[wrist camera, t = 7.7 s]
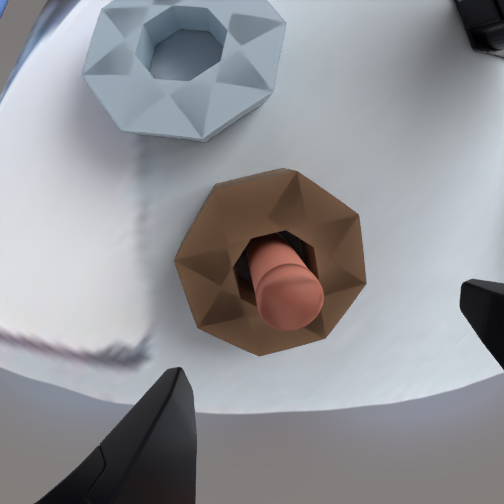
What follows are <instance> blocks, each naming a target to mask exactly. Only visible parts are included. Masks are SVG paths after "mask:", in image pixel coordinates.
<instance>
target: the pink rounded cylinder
mask: <svg viewBox="0 0 504 504" xmlns="http://www.w3.org/2000/svg"><path fill="white" fill-rule="evenodd" d="M246 258H247V262H248V266H249V270H250V274H251V278H252V282H253V286H254V290H255V296H256V303H257V307H258V311H259V314H260V316H261V318H262V319H263V321H264V322H265V323H267V324H268V325H269V326H271V327H273V328H275V329H278V330H284V331H290V330H296V329H299V328H302V327H304V326H306V325H308V324H309V323H310V322H312V321H313V320H314V319H315V318H316V316H317V315H318V314H319V312H320V310H321V308H322V305H323V301H324V293H323V289H322V286H321V284H320V282H319V281H318V280H317V278H316V277H315V276H314V274H313V273H312V272H311V271H310V270H309V269H308V268H307V267H306V265H305V264H304V263H303V261H302V260H301V259H300V257H299V256H298V255H297V253H296V252H295V251H294V249H293V248H292V247H291V245H290V244H289V243H288V241H287V240H286V239H285V238H284V237H283V236H282V235H281V234H279V233H277V232H276V233H272V234H267V235H263V236H259V237H255V238H252V239H251V240H250V241H249V243H248V245H247V248H246Z"/></svg>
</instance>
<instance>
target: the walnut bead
mask: <svg viewBox="0 0 504 504" xmlns="http://www.w3.org/2000/svg"><path fill="white" fill-rule="evenodd" d="M284 230H287V231H288V232H290V233H292V234H293V235H295V236H296V237H298V238H300V243H301V248H302V254H303V259H302V261H303V263H304V264H305V265H306V267H307V268H308V269H309V270H310V271H311V272H312V273H313V274H314V276H315V277H316V278H317V280H318V281H319V282H320V284H321V286H322V289H323V293H324V301H323V305H322V308H321V310H320V312H319V314H318V315H317V316H316V318H315V319H314V320H313V321H312V322H310V323H309V324H308V325H306V326H304V327H302V328H299V329H296V330H290V331H284V330H278V329H275V328H273V327H271V326H269V325H268V324H267V323H265V322H264V321H263V319H262V318H261V316H260V314H259V311H258V307H257V303H256V296H255V290H254V286H253V283H252V282H250V281H248V280H246V279H244V278H242V277H240V276H239V275H237V272H236V268H235V263H236V261H237V260H238V258H239V257H240V255H241V254H242V252H243V250H244V249H245V247H246V246H247V244H248V242H249V241H250V239H251V238H255V237H259V236H263V235H267V234H272V233H276V232H280V231H284ZM174 262H175V265H176V268H177V271H178V274H179V277H180V280H181V283H182V286H183V289H184V292H185V295H186V297H187V300H188V303H189V306H190V309H191V312H192V314H193V317H194V320H195V323H196V325H197V328H199V329H201V330H203V331H205V332H207V333H209V334H211V335H213V336H215V337H217V338H220V339H222V340H224V341H226V342H228V343H230V344H233V345H235V346H237V347H239V348H241V349H244V350H246V351H248V352H250V353H253V354H255V355H257V356H263V355H267V354H271V353H275V352H279V351H282V350H286V349H290V348H294V347H297V346H301V345H305V344H308V343H312V342H315V341H319V340H322V339H325V338H326V337H327V336H328V334H329V333H330V332H331V331H332V329H333V328H334V327H335V325H336V324H337V323H338V322H339V320H340V319H341V318H342V316H343V315H344V314H345V312H346V311H347V310H348V308H349V307H350V306H351V304H352V303H353V301H354V300H355V299H356V297H357V296H358V295H359V293H360V292H361V290H362V289H363V288H364V286H365V285H366V274H365V263H364V252H363V243H362V234H361V226H360V218H359V214H357V213H356V212H355V211H353V210H352V209H351V208H349V207H348V206H346V205H345V204H344V203H342V202H341V201H340V200H338V199H337V198H335V197H334V196H333V195H331V194H330V193H328V192H327V191H325V190H324V189H323V188H321V187H320V186H318V185H317V184H315V183H314V182H312V181H311V180H310V179H308V178H307V177H305V176H304V175H302V174H301V173H299V172H298V171H294V170H290V169H285V168H282V169H277V170H273V171H268V172H264V173H259V174H255V175H251V176H246V177H242V178H238V179H234V180H230V181H226V182H222V183H218V184H216V185H215V186H214V188H213V190H212V191H211V193H210V195H209V196H208V198H207V200H206V201H205V203H204V205H203V206H202V208H201V210H200V212H199V213H198V215H197V217H196V218H195V220H194V222H193V224H192V225H191V227H190V229H189V231H188V232H187V234H186V236H185V238H184V239H183V241H182V243H181V246H180V248H179V250H178V253H177V255H176V257H175V260H174Z"/></svg>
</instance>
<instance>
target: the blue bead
mask: <svg viewBox="0 0 504 504" xmlns="http://www.w3.org/2000/svg"><path fill="white" fill-rule="evenodd" d="M285 27H286V22H285V21H284V19H283V18H282V17H281V16H280V15H279V14H278V12H277V11H276V10H275V9H274V8H273V7H272V6H271V5H270V3H269V2H268V1H267V0H113V1H112V2H110V3H109V4H108V5H106V6H105V7H104V8H102V9H101V12H100V15H99V18H98V21H97V24H96V27H95V30H94V33H93V36H92V39H91V43H90V46H89V49H88V53H87V57H86V60H85V64H84V68H83V72H82V77H83V78H84V79H85V81H86V82H87V84H88V85H89V87H90V88H91V89H92V91H93V92H94V94H95V95H96V97H97V98H98V99H99V101H100V102H101V104H102V105H103V106H104V108H105V109H106V111H107V112H108V113H109V115H110V116H111V118H112V119H113V120H114V122H115V123H116V125H117V126H118V127H119V129H120V130H121V131H124V132H129V133H133V134H137V135H147V136H157V137H167V138H176V139H185V140H193V141H200V142H207V141H208V140H210V139H211V138H213V137H214V136H216V135H217V134H218V133H220V132H221V131H223V130H224V129H226V128H227V127H229V126H230V125H231V124H233V123H234V122H236V121H237V120H239V119H240V118H242V117H243V116H245V115H246V114H248V113H250V112H251V111H253V110H254V109H256V108H257V107H259V106H260V105H262V104H264V102H265V101H266V100H267V99H268V98H269V96H270V95H271V94H272V93H273V90H274V85H275V80H276V74H277V69H278V64H279V58H280V53H281V48H282V43H283V37H284V32H285ZM180 29H187V30H198V31H208V32H210V33H211V34H212V35H213V36H214V38H215V39H216V40H217V41H218V42H219V44H220V45H221V46H222V47H223V52H222V57H221V61H220V62H218V63H217V64H215V65H214V66H212V67H210V68H209V69H207V70H206V71H204V72H203V73H201V74H200V75H198V76H197V77H195V78H194V79H192V80H191V81H179V80H167V79H155V78H154V77H153V75H152V74H151V73H150V66H151V62H152V58H153V54H154V51H155V47H156V45H157V44H159V43H160V42H161V41H163V40H164V39H166V38H167V37H169V36H171V35H172V34H174V33H175V32H177V31H178V30H180Z"/></svg>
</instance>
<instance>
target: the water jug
mask: <svg viewBox="0 0 504 504" xmlns="http://www.w3.org/2000/svg"><path fill="white" fill-rule="evenodd" d="M7 2H8V0H0V18H1V16H2V14H3V12H4V9H5V7H6V5H7Z"/></svg>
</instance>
